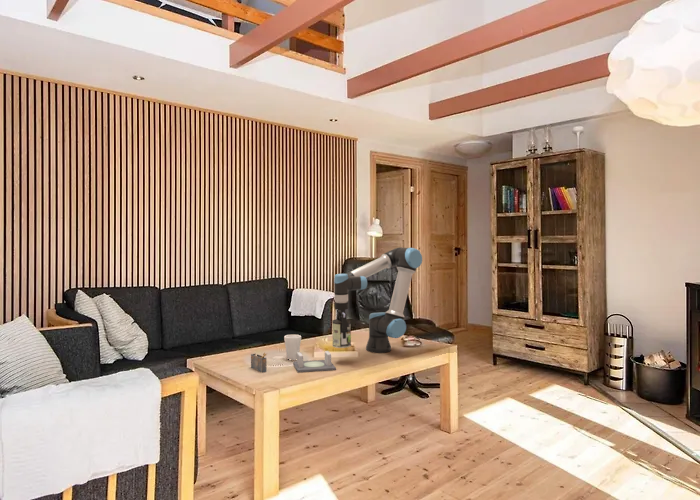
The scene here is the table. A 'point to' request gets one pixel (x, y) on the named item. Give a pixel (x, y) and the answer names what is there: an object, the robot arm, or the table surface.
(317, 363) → the holder
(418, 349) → the table surface
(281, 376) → the table surface
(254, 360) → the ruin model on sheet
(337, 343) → the coffee can
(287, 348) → the foam cup
